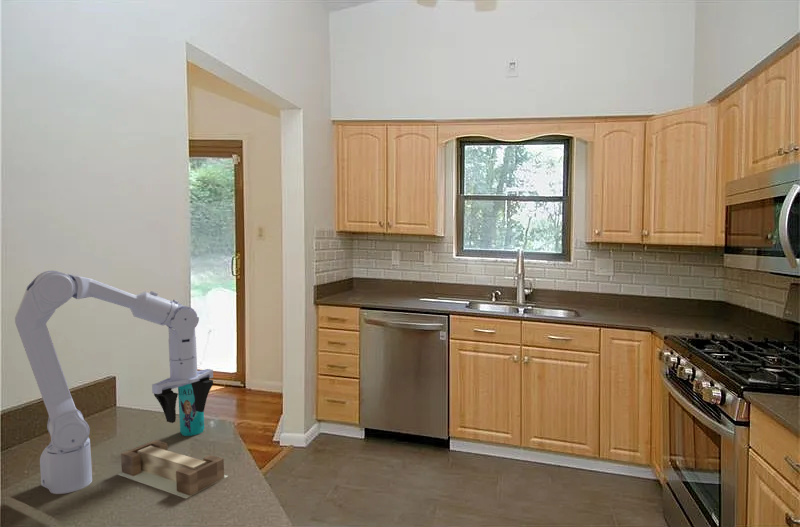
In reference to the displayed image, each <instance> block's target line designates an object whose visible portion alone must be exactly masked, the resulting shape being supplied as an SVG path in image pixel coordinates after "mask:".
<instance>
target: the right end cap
mask: <svg viewBox="0 0 800 527" xmlns="http://www.w3.org/2000/svg"><path fill="white" fill-rule="evenodd" d="M202 461H206V465H204V466H202V467H200V468H198V469H196V470H191V469H187V468H184V467H183V468H181V469H179V470H177V471H176V483H177V491H178V492H181V493H183V494H186V495H189V496H190V497H191V495H192V496H193V494H194V495H195V493H196V494H197V492H198V493H199V492H202V491H203V490H205V489H207V488H209V487H211V486H212V484H213V485H215V484H217V483H218V482H220V481H222V480H224V479H225V478H224V475H225V462H224V458H222V457H219V456H215V455H212V454H209V455H207V456H205V457H203V460H202ZM223 478H224V479H223ZM214 483H215V484H214ZM210 485H211V486H210ZM208 486H209V487H208ZM206 487H207V488H206Z"/></svg>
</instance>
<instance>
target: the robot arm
mask: <svg viewBox="0 0 800 527" xmlns="http://www.w3.org/2000/svg"><path fill="white" fill-rule="evenodd" d="M158 294H159V293H158V292H155V291H150V292H147V291H143V292H141V293H139V294H134V293H131V292H129V291H125V290H124V289H120V288H117V287H115V286H112V285H110V284H107V283H105V282H101V281H99V280H96V279H93V278H89V277H86V276H85V277H84V276H79V275H74V274H69V273H66V272H65V273H64V272H61V271H58V270H47V271H43V272H41V273H40V274H38V275H36V277H35V278H34V279H33V280H32V281H31V282H29V284H28V285H27V286H26V289H25V292H24V295H23V297H22V300H21V302H20V304H19V307H18V309H17V312H16V314H15V316H14V323H15V326H16V328H17V332H18V335H19V337H20V339H21V343H22V345H23V348H24V351H25V354H26V357H27V359H28V362H29V364H30V367H31V370H32V373H33V376H34V379H35V381H36V384H37V387H38V390H39V392H40V395H41V397H42V400H43V404H44V406H45V408H46V411H47V414H48V420H47V422H46V423H47V424H46V425H47V426H46V427H47V428H46V429H47V431H48V433H49V435H50V440H51V441H50V442H49V444H48V445H47V446H46V447H45V448H44V449H43V450H42V453H41V454H40V458H39V468H40V470H39V471H40V485H41V487H43V488H46V489H48V490H49V492H50V493H51V494H54V495H61V494H69V493H72V492H76V491H80V490H82V489H84V488H86V487H88V486H89V485H90V484H91V483H92V482H93V469H92V468H93V466H92V454H91V453H92V452H91V450H92V449H91V439H90V437H89V436H90V425H89V424H88V422H87V421H86V420H85V419H84V418H85V417H84V415H83V413H82V411H81V410H79V409H77V407H76V405H75V402H74V399H73V397H72V394H71V392H70V389H69V385H68V383H67V380H66V379H67V378H66V377H65V374H64V371H63V369H62V366H61V362H60V360H59V358H58V355H57V351H56V349H55V346H54V343H53V340H52V337H51V335H50V331H49V328H48V326H47V323H48V321H49V320H50V319H51V317H52V316H53V315H54V313H56V310H57V309H59V308H60V307H62V306H63V305H64V304H66V303H67V302H68V301H69V300H71V299H72V298H73V299H76V300H80V299H81V300H82V299H87V298H94V299H98V300H100V301H105V302H108V303H111V304H114V305H118V306H120V307H123V308H124V307H125V308H127V309H129V310H130V311H131V313H132V315H133V317H134V318H137V319H141V320H144V321H147V322H151V323H153V324H156V325H160V326H167V328H168V353H169V354H168V356H169V357H168V358H169V361H168V362H169V374H170V376H169V377H167V378H166V379H163V380H161V381H159V382H156V383H152V384H151V387H152V388H151V389H152V390H151V391H152V394H153V396H154V397H155V399H156V400H157V401H158V403H159V404H160V407H161V408H162V411H163V413H164V416H165V419H166V422H167V423H171V424H173V423H176V417H177V414H176V411H177V410H176V409H177V408H176V406H177V399H178V392H174V390H173V389H178V387H180V386H184V385H187V384H190V383H191V385H192V388H193V392H194V398H195V409H196V411H198V412H205V407H206V403H207V399H208V396H209V393H210V391H211V389H212V387H213V386H214V380H213V378H214V369H210V368H206V369H202V370H198V358H197V357H198V356H197V337H196V327H197V326H198V324H199V321H200V317H198V314H197V311H195V309H194V308H192V307H191V306H189V305H188V306H187V305H184V304H182V303H179V301H178V300H176V299H173V300H171V299H170V300H169V299H166V298H164V297H162V296H160V295H158Z"/></svg>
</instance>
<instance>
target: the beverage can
mask: <svg viewBox="0 0 800 527" xmlns="http://www.w3.org/2000/svg"><path fill="white" fill-rule="evenodd" d="M177 393H178V396H177V399H178V413H179V416H178V417H179V432H180V434H181V435H182V436H184V437H192V436H196V435H197V436H198V435H199V434H202V433H203V432H204V430H205V414H204V412H205V411H204V412H198V411H196V409H195V398H194V392H193V388H192V385H191V383H190V384H187V385H184V386H180V387H177Z"/></svg>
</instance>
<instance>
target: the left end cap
mask: <svg viewBox="0 0 800 527" xmlns="http://www.w3.org/2000/svg"><path fill="white" fill-rule="evenodd" d="M149 446H153V447H157V448H160V449H164V450H167V451H169V450H168V442H164V441H161V440H157V439H155V440H152V441H150V442H147V443H145V444H142V445H140V446H136V447H134V448H132V449H130V450H127V451H124V452H122V453H120V459H121V472H123V473H126V474H128V475H131V476H135V475H137V474H140V473H141V461H140V454H138V451H139V450H141V449H144V448H146V447H149Z"/></svg>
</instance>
